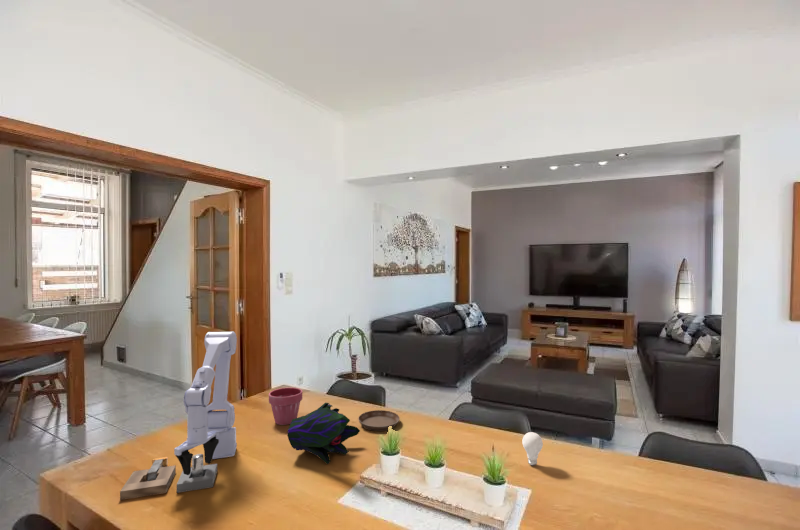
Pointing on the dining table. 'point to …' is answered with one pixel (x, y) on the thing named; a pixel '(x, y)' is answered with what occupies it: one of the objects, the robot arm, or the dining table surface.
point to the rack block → (197, 479)
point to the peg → (197, 465)
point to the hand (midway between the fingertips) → (197, 468)
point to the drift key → (156, 467)
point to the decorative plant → (321, 432)
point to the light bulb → (532, 446)
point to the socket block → (147, 483)
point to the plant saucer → (378, 420)
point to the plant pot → (285, 404)
